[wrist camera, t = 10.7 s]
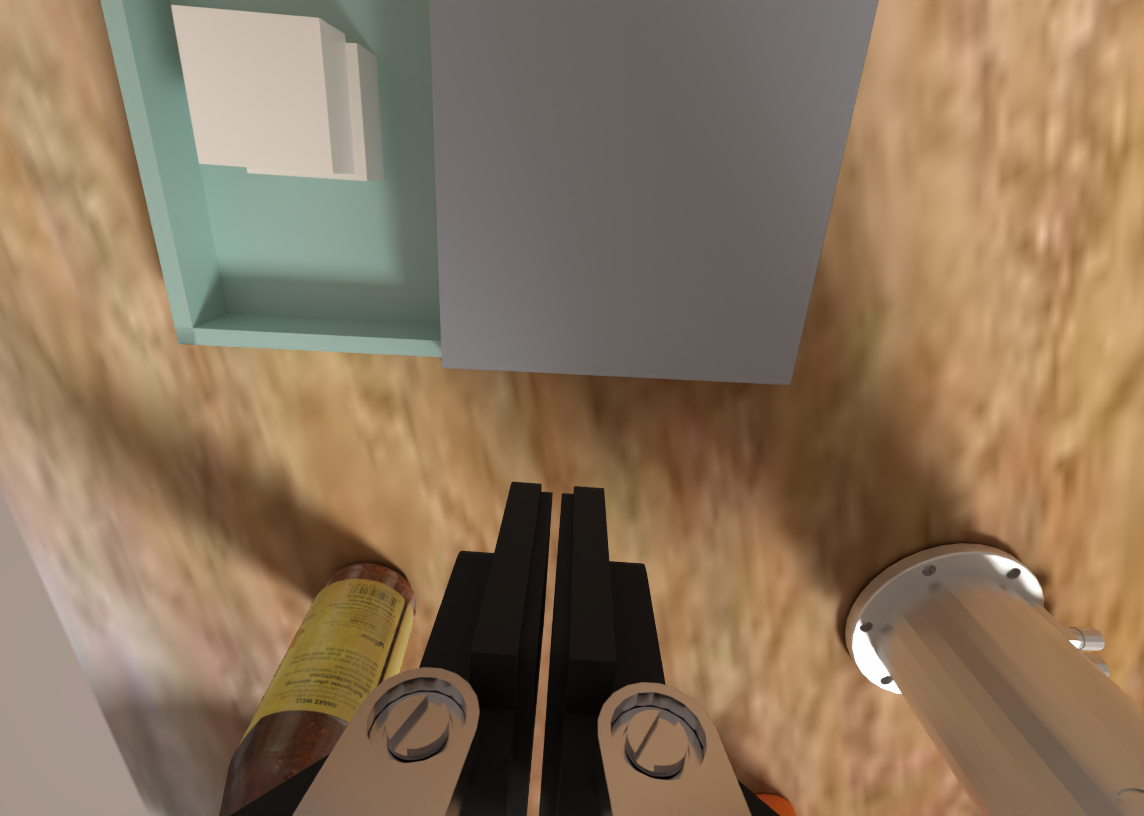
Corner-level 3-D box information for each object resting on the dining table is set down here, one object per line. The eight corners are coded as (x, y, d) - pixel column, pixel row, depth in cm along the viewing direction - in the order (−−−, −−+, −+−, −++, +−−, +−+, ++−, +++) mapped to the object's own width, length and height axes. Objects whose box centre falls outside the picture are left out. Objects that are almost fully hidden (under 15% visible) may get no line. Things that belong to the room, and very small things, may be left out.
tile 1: (170, 4, 19) (212, 22, 21) (199, 163, 21) (234, 164, 23) (318, 17, 19) (344, 34, 21) (333, 174, 21) (355, 173, 23)
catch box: (450, -157, 22) (430, -214, 18) (460, 337, 29) (448, 357, 26) (121, -186, 21) (43, -249, 18) (221, 324, 29) (178, 343, 26)
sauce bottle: (305, 574, 36) (35, 1001, 17) (392, 544, 35) (205, 959, 16) (357, 645, 38) (168, 1084, 20) (439, 619, 37) (322, 1051, 19)
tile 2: (225, 33, 21) (258, 46, 24) (247, 173, 23) (275, 173, 26) (356, 43, 22) (376, 55, 24) (367, 181, 24) (384, 180, 26)
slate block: (849, -122, 22) (924, -198, 18) (755, 352, 30) (790, 385, 26) (450, -157, 22) (420, -245, 17) (460, 337, 29) (441, 367, 25)
